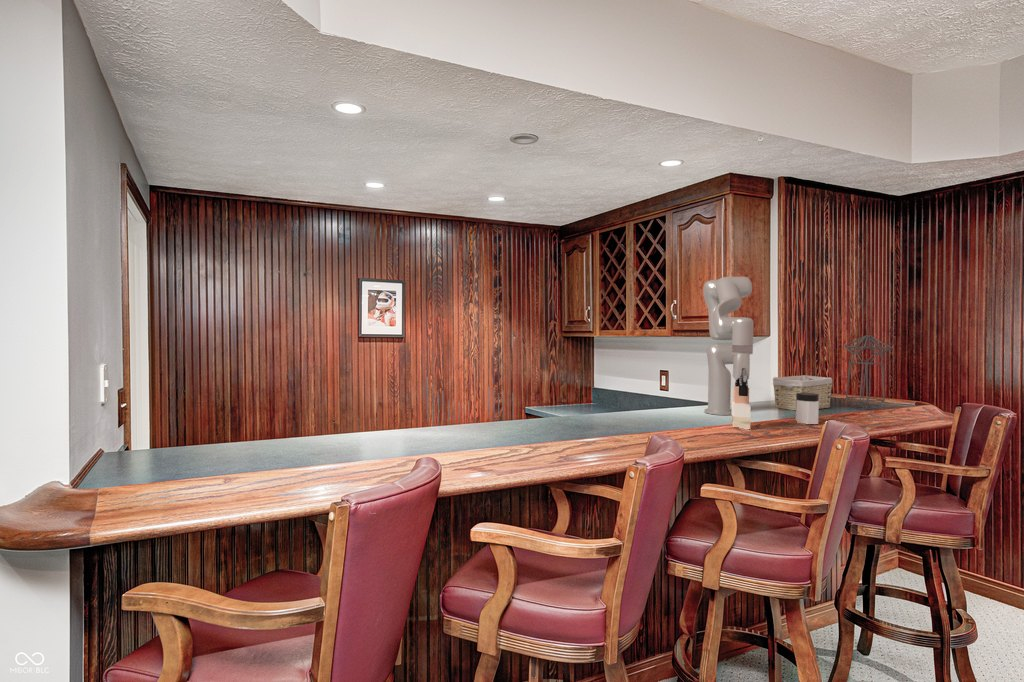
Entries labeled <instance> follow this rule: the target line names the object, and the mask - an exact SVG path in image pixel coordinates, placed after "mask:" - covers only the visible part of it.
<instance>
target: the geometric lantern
mask: <svg viewBox="0 0 1024 682" xmlns="http://www.w3.org/2000/svg"><path fill="white" fill-rule="evenodd" d="M878 342H879V343H880V344H881V345H880V344H879V343H878ZM854 343H855V344H854ZM852 344H854V345H853V346H851V345H852ZM860 344H861V345H860ZM867 345H868V346H867ZM882 345H884V346H886V347H883V346H882ZM843 347H844V348H845V349H846V350H848V352H850V354H851V355H850V357H849V361H848V373H847V383H846V392H845V398H846V399H847V401H849V402H850V403H851V408H852V407H854V408H853V409H857V408H860V409H859V410H862V409H868V405H869V407H871V408H870V409H874V407H872V406H875V407H876V408H878V409H879V406H880V405H881V404H883V403H884V402H885V401H886V399H885V393H886V392H885V363H884V360H883V355H884V354H885V353H887V352H888V351H890V350H891V349H893V347H892V346H890V345H889V344H887V343H884V341H881V340H879V339H877V338H875V337H874V336H872V335H867V334H866V335H864V336H861V337H860V338H857V339H855V340H853V341H851V342H849V343H847V344H844V345H843ZM866 348H868V349H869V350H870V351H871V353H872V355H871V356H870V357H869V358H868V359H867V360H865V358H864V357H863V356H862V354H861V353H862V352H863V351H865V350H866ZM857 349H858V350H857ZM877 350H878V351H877ZM855 355H857V356H858V359H859V360H860V361H853V360H854V357H855ZM873 356H874V357H873ZM877 356H880V362H873V361H874V360H875V359H876V357H877ZM872 357H873V358H872ZM871 358H872V359H871ZM870 359H871V360H870ZM869 361H870V362H869ZM853 364H858V365H860V364H861V372H860V373H861V374H860V375H861V376H860V390H859V391H860V392H859V396H848V394H849V388H850V387H849V386H850V381H851V380H850V379H851V373H852V366H853ZM868 365H869V368H868ZM872 365H881V379H882V381H881V382H882V395H883V396H882V398H875V397H871V381H872V380H871V377H872V376H871V373H872ZM864 366H865V368H864ZM868 369H869V373H868ZM863 374H864V377H863ZM868 375H869V377H868ZM863 379H864V380H863ZM865 387H866V388H865ZM865 389H866V390H865ZM865 391H866V395H865ZM851 400H856V401H860V402H853V401H851ZM869 402H879V403H869ZM854 404H855V405H857V406H854Z"/></svg>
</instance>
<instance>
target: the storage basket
mask: <svg viewBox="0 0 1024 682" xmlns="http://www.w3.org/2000/svg"><path fill="white" fill-rule="evenodd" d="M772 385H773V393H774V401H775V408H777V409H784V410H789V411H795V410H796V393H815V394H818V395H819V398H818V401H819V410H820V409H826V408H827V409H828V408H830V407H831V396H832V387H833V378H832V377H825V376H817V375H816V376H815V375H805V374H804V375H792V376H775V377H774V376H773V378H772Z"/></svg>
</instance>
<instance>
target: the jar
mask: <svg viewBox="0 0 1024 682" xmlns="http://www.w3.org/2000/svg"><path fill="white" fill-rule="evenodd" d="M818 398H819V395H818V394H815V393H796V411H795V420H796V421H798V422H801V423H806V424H818V425H819V411H820V409H819V401H818ZM796 421H795V422H796Z"/></svg>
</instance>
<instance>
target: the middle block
mask: <svg viewBox="0 0 1024 682" xmlns="http://www.w3.org/2000/svg"><path fill="white" fill-rule="evenodd" d="M751 405H752V404H751V403H750V402H749V404H735V403H734V402H733V400H732V401H731V410H732V415H733V416H734V417H750V418H751ZM732 415H731V416H732Z"/></svg>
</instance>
